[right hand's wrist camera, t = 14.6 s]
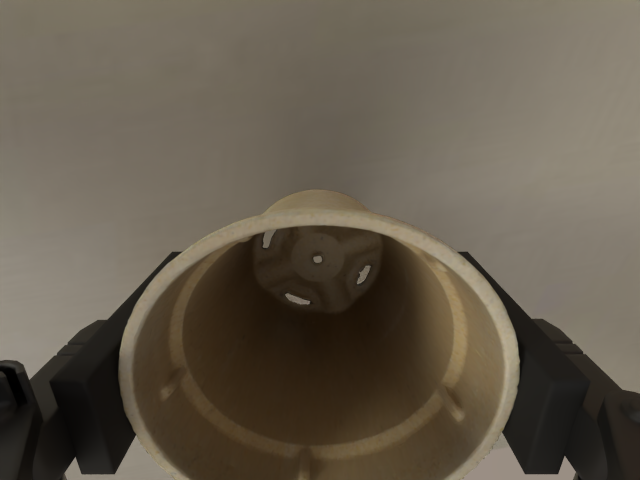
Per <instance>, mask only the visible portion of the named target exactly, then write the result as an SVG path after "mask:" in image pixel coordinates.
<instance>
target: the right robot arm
mask: <svg viewBox="0 0 640 480" xmlns="http://www.w3.org/2000/svg"><path fill="white" fill-rule="evenodd" d="M181 253H182V252H172V253H171V254H170V255H169V256H168V257H167V258H166V259H165V260H164V261H163V262H162V263H161V264H160V265H159V266H158V267H157V268H156V269H155V270H154V272H153V273H152V274H151V275H150V276H149V277H148V278H147V279H146V280H145V281H144V282H143V283H142V284H141V285H140V286H139V287H138V288H137V289H136V290H135V291H134V293H133V294H132V295H131V296H130V297H129V298H128V299H127V300H126V301H125V302H124V303H123V304H122V305H121V306H120V307H119V308H118V309H117V310H116V311H115V312H114V314H113V315H112V316H111V317H110V318H109V319H108V320H97V321H95V322H94V323H92V324H90V325H89V326H87V327H85V328H84V329H82V330H80V331H79V332H78V333H77V334H76V335H75V336H74V337H73V338H72V339H71V340H70V341H69V342H68V345H65V346H64V347H63V348H62V349H61V350H60V351H59V352H58V353H57V356H54V357H53V358H52V359H51V360H49V361H48V362H47V363H46V364H45V365H44V366H43V367H42V368H41V369H40V370H39V371H38V372H37V373H36V374H35V375H34V376H33V377H32V378H31V379H30V380H29V379H28V376H27V373H26V371H25V368H24V365H23V364H21V363H20V362H18V361H12V360H3V361H0V480H67V479H66V476H65V471H66V470H67V468H68V467H69V465H70V464H71V462H72V461H73V459H74V458H75V457H76V459H77V462H78V465H79V468H80V471H81V474H115V473H116V471H117V469H118V467H119V465H120V463H121V462H122V460H123V458H124V456H125V454H126V452H127V451H128V449H129V447H130V445H131V443H132V441H133V440H134V438H135V436H136V433H135V432H134V431H133V428H132V425H131V423H130V421H129V419H128V418H127V416H126V413H125V411H124V407H123V401H122V397H121V395H120V387H119V381H118V367H119V357H120V348H121V343H122V338H123V334H124V331H125V327H126V325H127V323H128V320H129V318H130V316H131V314H132V312H133V309H134V307H135V305H136V303H137V301H138V300H139V298H140V297H141V296H142V294H143V293H144V291H145V289H146V288H147V286H148V285H149V284H150V282H151V281H152V280H153V279H154V277H155V276H156V275H157V274H158V273H159V272H160V271H161V270H162V269H163V268H164V267H165V266H166V265H167V264H168V263H169V262H171V261H172V260H173V259H175V258H176V257H177V256H178V255H179V254H181ZM458 253H459V254H460V255H462V256H463V257H464V258H465V259H466V260H467V261H468V262H469V263H471V264H472V265H473V266H474V267H475V268H476V269H477V270H478V271H479V272H480V273H481V274H482V275H483V276H484V277H485V279H486V280H487V281H488V282H489V284H490V285H491V286H492V288H493V289H494V290H495V292H496V293H497V295H498V296H499V298H500V299H501V301H502V303H503V305H504V306H505V308H506V310H507V314H508V316H509V318H510V321H511V323H512V325H513V328H514V330H515V334H516V338H517V342H518V351H519V354H518V355H519V359H520V364H519V365H520V376H519V378H520V380H519V384H518V386H517V387H518V392H517V395H516V399H515V402H514V406H513V409H512V411H511V414H510V416H509V419H508V421H507V423H506V425H505V427H504V429H503V431H502V433H503V434H504V436H505V438H506V440H507V442H508V444H509V445H510V447H511V449H512V451H513V453H514V455H515V456H516V458H517V460H518V462H519V464H520V466H521V468H522V469H523V471H524V473H525V474H558V473H559V470H560V467H561V464H562V461H563V459H564V456H566V458H567V459H568V461H569V462H570V464H571V465H572V466H573V468H574V470H575V471H576V473H575V476H574V479H573V480H640V394H639V393H636V392H631V391H626V390H622V389H621V388H620V387H619V386H618V385H617V384H616V383H615V382H614V381H613V380H612V379H611V378H610V377H609V376H608V375H607V374H606V373H604V372H603V371H602V370H601V369H600V368H599V367H598V366H597V365H596V364H595V363H594V362H593V361H592V360H591V359H590V358H589V357H588V356H587V355H586V354H583V351H582V350H581V349H580V348H579V347H578V346H577V345H576V344H573V343H572V341H571V340H570V339H569V338H568V337H567V336H566V335H565V334H564V333H563V332H562V331H561V330H560V329H559V328H557V327H555V326H554V325H552V324H550V323H548V322H547V321H545V320H543V319H531V318H530V317H529V316H528V315H527V314H526V313H525V312H524V311H523V310H522V309H521V307H520V306H519V305H518V304H517V303H516V302H515V301H514V300H513V299H512V298H511V297H510V296H509V295H508V294H507V293H506V292H505V291H504V290H503V289H502V288H501V286H500V285H499V284H498V283H497V282H496V281H495V280H494V279H493V278H492V277H491V276H490V275H489V274H488V273H487V272H486V271H485V270H484V269H483V268H482V267H481V265H480V264H479V263H478V262H477V261H476V260H475V259H474V258H473V257H472V256H471V255H470V254H469V253H468V252H458Z"/></svg>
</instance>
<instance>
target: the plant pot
mask: <svg viewBox="0 0 640 480" xmlns="http://www.w3.org/2000/svg"><path fill="white" fill-rule="evenodd" d="M275 229H277V230H276V232H275V233H274V235H273V236H272V238H271V241H270V245H269V247H268V248H263V237H264V234H265V232H267V231H271V230H275ZM314 256H321V257H322V262H320V263H315V262H314V260H313V257H314ZM367 265H369V266H371V268H370V271H369V273H368V275H367V277H366V279H365V280H364V281H363V282H362V283H361V284H357V280H358V278H359V277H360V274H359V271H360V272H361V271H362V270H363V269H364V268H365V266H367ZM286 293H289V294H291V295H294V296H297V297H299V298H302V299H304V300H309V301H310V304H309V305H306V304H304V305H300V304H297V303H295V302H292V301H290V300H289V299H288V298H287V297H286V296H285V294H286ZM518 354H519V351H518V342H517V338H516V334H515V330H514V328H513V325H512V323H511V321H510V318H509V316H508V314H507V310H506V308H505V306H504V305H503V303H502V301H501V299H500V298H499V296H498V295H497V293H496V292H495V290H494V289H493V288H492V286H491V285H490V284H489V282H488V281H487V280H486V279H485V277H484V276H483V275H482V274H481V273H480V272H479V271H478V270H477V269H476V268H475V267H474V266H473V265H472V264H471V263H469V262H468V261H467V260H466V259H465V258H464V257H463V256H462V255H460V254H459V253H458V252H456V251H455V250H454V249H452V248H451V247H449V246H448V245H447V244H445V243H444V242H443V241H441V240H439V239H438V238H436V237H434V236H432V235H431V234H429V233H427V232H425V231H423V230H421V229H419V228H417V227H415V226H412V225H410V224H407V223H405V222H402V221H399V220H397V219H394V218H391V217H387V216H383V215H379V214H376V213H371V212H370V211H369V210H368V209H367V208H366V207H365V206H364V205H363V204H361V203H360V202H358V201H357V200H355V199H354V198H352V197H350V196H348V195H345V194H342V193H339V192H335V191H330V190H322V189H313V190H306V191H302V192H297V193H294V194H291V195H288V196H286V197H284V198H282V199H281V200H279V201H277V202H276V203H274V204H273V205H272V206H270V207H269V208H268V209H267V210H266V211H265V212H264V213H263V214H261V215H257V216H253V217H250V218H247V219H243V220H240V221H237V222H235V223H232V224H230V225H228V226H226V227H224V228H221V229H219V230H217V231H215V232H213V233H211V234H209V235H207V236H206V237H204V238H203V239H201V240H199V241H198V242H196V243H195V244H193V245H192V246H190V247H189V248H188V249H186V250H185V251H183V252H182V253H181V254H179V255H178V256H177V257H176V258H175V259H173V260H172V261H171V262H169V263H168V264H167V265H166V266H165V267H164V268H163V269H162V270H161V271H160V272H159V273H158V274H157V275H156V276H155V277H154V279H153V280H152V281H151V282H150V284H149V285H148V286H147V288H146V289H145V291H144V293H143V294H142V296H141V297H140V298H139V300H138V301H137V303H136V305H135V307H134V309H133V312H132V314H131V316H130V318H129V320H128V323H127V325H126V327H125V331H124V334H123V338H122V343H121V348H120V357H119V367H118V381H119V387H120V395H121V397H122V401H123V407H124V411H125V413H126V416H127V418H128V419H129V421H130V423H131V425H132V428H133V431H134V432H135V433H136V435H137V437H138V439H139V441H140V443H141V445H142V446H143V447H144V448H145V449H146V451H147V453H149V454H150V455H151V457H152V458H153V459H154V460H155V462H156V463H157V464H158V465H159V466H160V467H161V468H163V469H164V470H165V471H166V472H167V473H168V474H169V475H171V476H172V477H173V478H174V479H175V480H460V479H463V478H464V477H465V476H466V475H467V474H468V473H469V472H470V471H472V470H473V469H475V468H476V467H477V466H478V464H479V463H480V461H481V460H482V459H484V458H485V456H487V455H488V454H489V453H490V450H491V449H492V448H493V444H494V443H495V442H496V441H498V438H499V435H500V434H501V432H502V431H503V429H504V427H505V425H506V423H507V421H508V419H509V416H510V414H511V411H512V409H513V406H514V402H515V399H516V395H517V392H518V387H517V386H518V384H519V380H520V378H519V376H520V365H519V364H520V359H519V355H518Z"/></svg>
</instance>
